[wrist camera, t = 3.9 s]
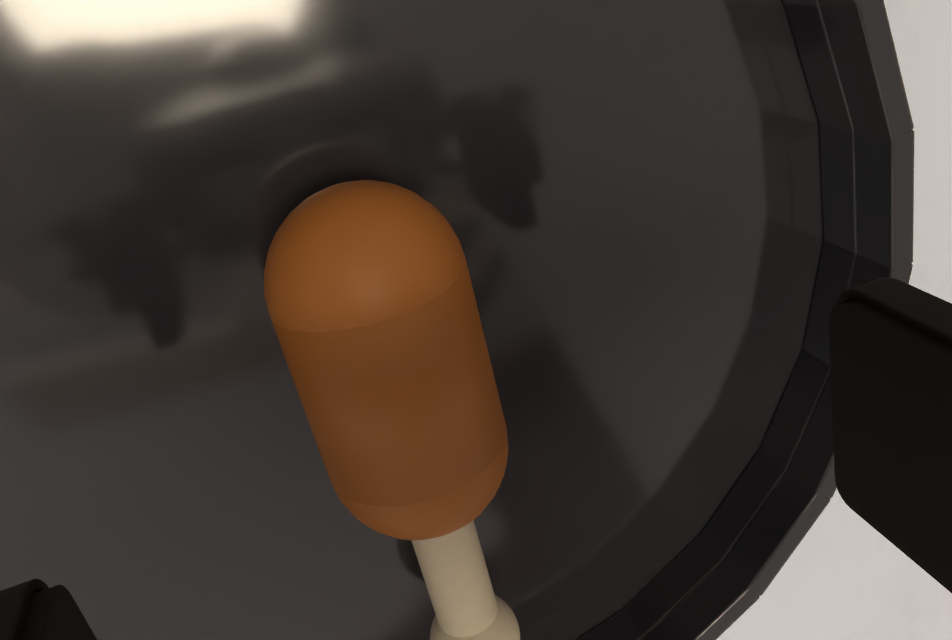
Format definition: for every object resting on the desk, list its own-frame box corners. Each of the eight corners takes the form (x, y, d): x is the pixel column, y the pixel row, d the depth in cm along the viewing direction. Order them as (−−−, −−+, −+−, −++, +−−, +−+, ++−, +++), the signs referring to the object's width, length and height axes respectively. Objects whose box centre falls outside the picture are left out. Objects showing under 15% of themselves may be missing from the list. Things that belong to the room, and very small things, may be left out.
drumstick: (529, 588, 19) (587, 697, 16) (393, 643, 18) (429, 766, 15) (414, 138, 14) (468, 179, 11) (230, 193, 14) (238, 249, 11)
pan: (58, 866, 18) (39, 987, 16) (-682, -159, 10) (-942, -198, 8) (838, 535, 22) (910, 598, 20) (802, -431, 13) (922, -511, 11)
